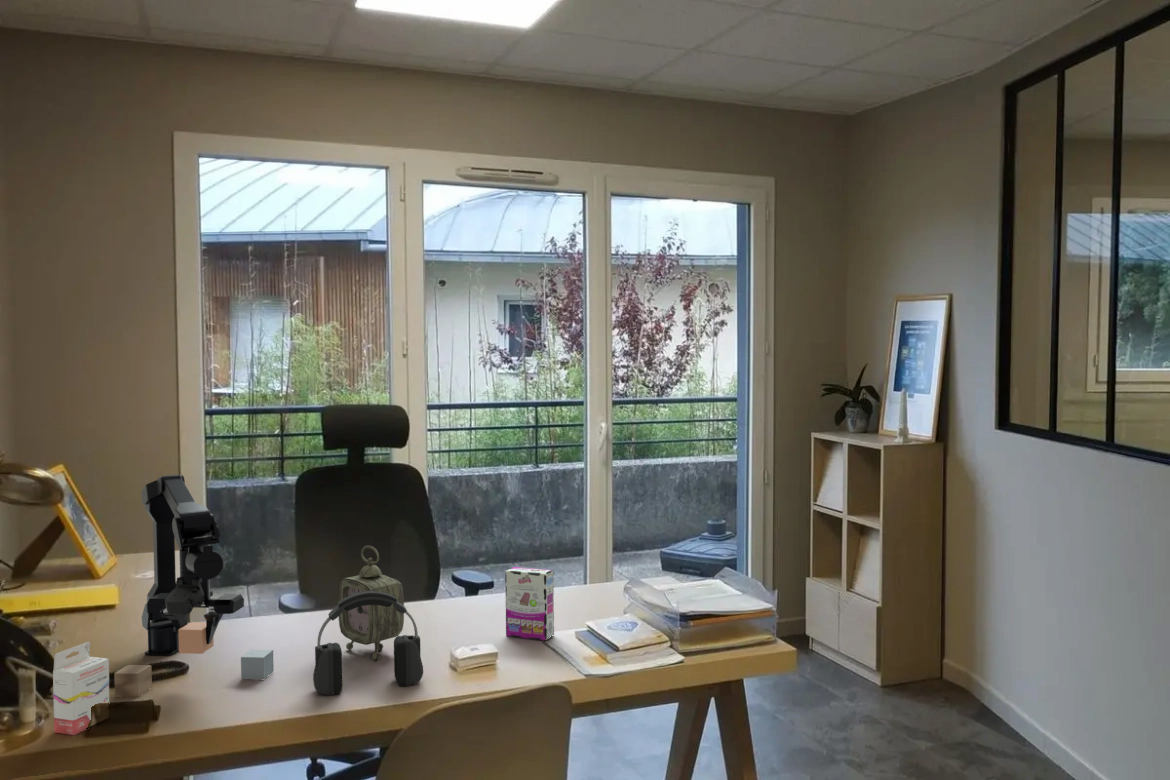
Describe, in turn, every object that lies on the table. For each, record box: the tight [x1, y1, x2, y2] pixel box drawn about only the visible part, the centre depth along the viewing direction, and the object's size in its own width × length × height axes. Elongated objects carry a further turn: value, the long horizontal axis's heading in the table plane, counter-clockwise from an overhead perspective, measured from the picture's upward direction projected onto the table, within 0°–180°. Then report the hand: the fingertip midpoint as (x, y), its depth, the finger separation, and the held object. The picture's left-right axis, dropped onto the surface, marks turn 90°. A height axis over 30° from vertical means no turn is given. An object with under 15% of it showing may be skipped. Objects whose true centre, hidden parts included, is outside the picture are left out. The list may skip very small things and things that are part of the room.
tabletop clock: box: [337, 545, 405, 661], centre depth 212 cm, size 14×9×25 cm, turn 47°
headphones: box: [312, 591, 424, 696], centre depth 191 cm, size 22×6×20 cm, turn 109°
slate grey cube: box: [240, 648, 275, 680], centre depth 198 cm, size 5×5×5 cm
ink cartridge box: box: [52, 641, 110, 736], centre depth 172 cm, size 9×5×15 cm, turn 163°
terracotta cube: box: [178, 621, 215, 655], centre depth 193 cm, size 5×5×5 cm
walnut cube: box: [113, 664, 153, 698], centre depth 188 cm, size 5×5×5 cm
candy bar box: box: [504, 566, 555, 642], centre depth 224 cm, size 11×5×16 cm, turn 68°
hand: (196, 643), depth 193 cm, fingers closed on terracotta cube, 5 cm apart
